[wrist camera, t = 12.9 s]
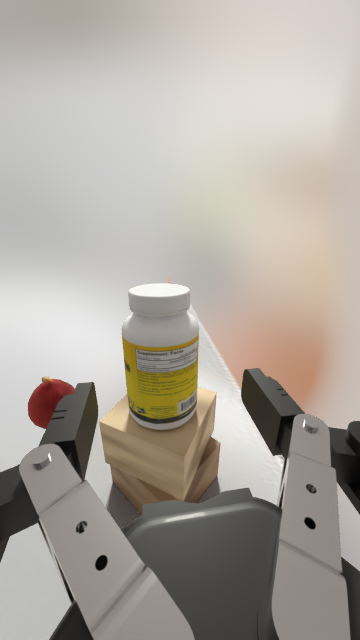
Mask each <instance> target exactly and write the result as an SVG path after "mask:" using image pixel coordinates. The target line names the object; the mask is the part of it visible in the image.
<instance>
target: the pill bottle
mask: <svg viewBox="0 0 360 640" xmlns="http://www.w3.org/2000/svg"><path fill="white" fill-rule="evenodd" d="M189 305H190V290H189V288H187V287H185V286H182V285H176V284H146V285H141V286H137V287H134V288H132V289H130V290H129V306H130V309H131V311H132V312H133V314H132V315H130V316H129V317H128V318H127V319H126V320H125V322H124V324H123V326H122V341H123V350H124V362H125V373H126V385H127V395H128V405H129V411H130V414H131V416H132V417H133V419H134V420H135V421H136V422H137V423H139V424H140V425H142V426H144V427H147V428H151V429H156V430H167V429H173V428H176V427H179V426H181V425H183V424H184V423H186V422H187V421H188V420H189V419H190V418H191V417H192V416H193V414H194V412H195V410H196V406H197V378H198V340H199V326H198V323H197V321H196V319H195V318H194V317H193V316H192V315H191V314H189V313H188V312H187V310H188V309H189V307H190V306H189Z"/></svg>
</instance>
